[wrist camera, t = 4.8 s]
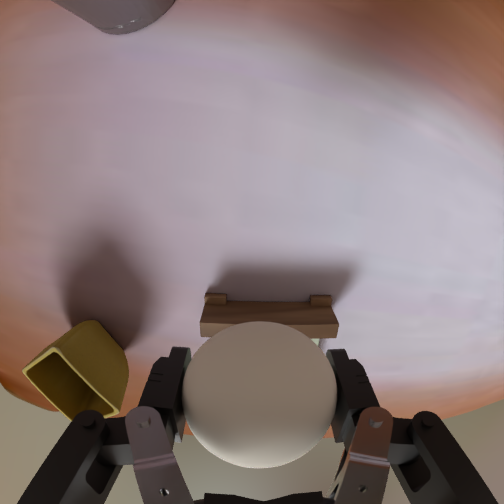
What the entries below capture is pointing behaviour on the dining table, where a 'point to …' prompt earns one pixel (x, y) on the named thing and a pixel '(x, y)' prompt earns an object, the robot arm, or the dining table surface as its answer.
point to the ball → (259, 394)
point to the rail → (270, 315)
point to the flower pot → (81, 371)
